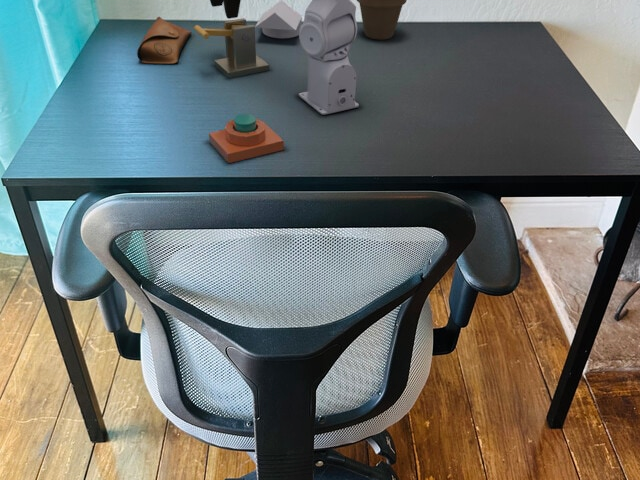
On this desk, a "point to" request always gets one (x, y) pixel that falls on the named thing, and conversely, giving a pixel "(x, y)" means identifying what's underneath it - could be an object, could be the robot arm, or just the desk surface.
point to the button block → (245, 142)
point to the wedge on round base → (280, 21)
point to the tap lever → (215, 31)
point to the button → (245, 123)
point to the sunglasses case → (162, 43)
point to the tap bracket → (240, 51)
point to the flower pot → (380, 17)
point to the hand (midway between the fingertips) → (224, 11)
